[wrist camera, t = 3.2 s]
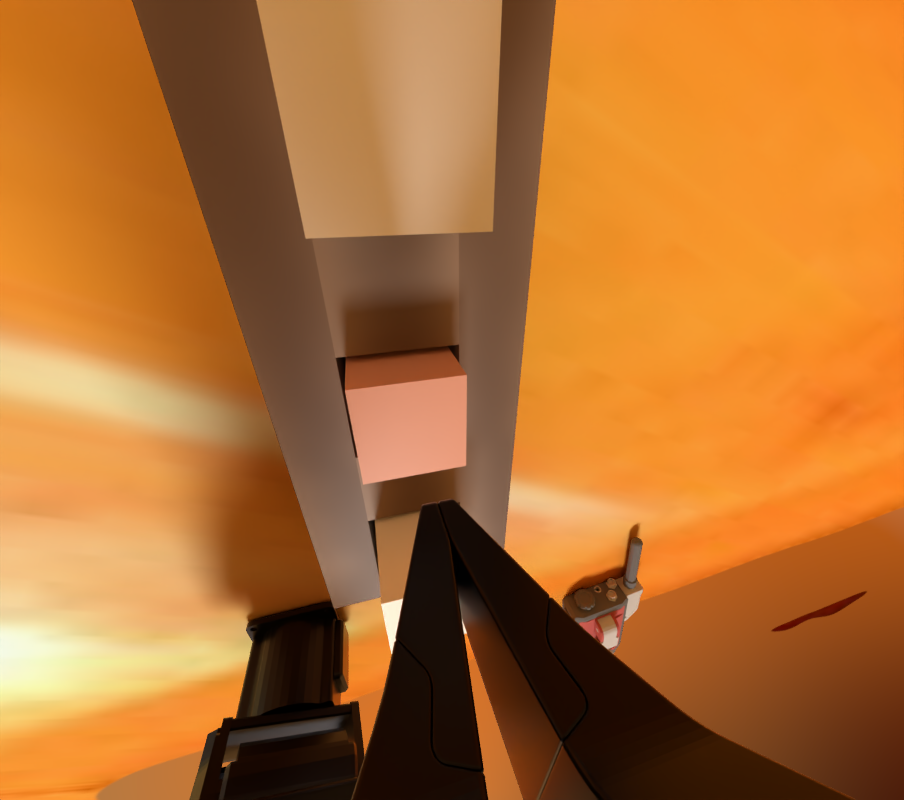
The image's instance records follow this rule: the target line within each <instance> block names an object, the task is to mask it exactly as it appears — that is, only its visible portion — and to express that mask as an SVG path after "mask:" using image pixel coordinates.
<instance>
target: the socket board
mask: <svg viewBox="0 0 904 800" xmlns="http://www.w3.org/2000/svg"><path fill="white" fill-rule="evenodd" d="M132 2H133V5H134V8H135V11H136V14H137V17H138V20H139V23H140V26H141V29H142V32H143V35H144V38H145V41H146V44H147V47H148V50H149V53H150V56H151V59H152V62H153V65H154V68H155V71H156V74H157V77H158V80H159V83H160V86H161V89H162V92H163V95H164V98H165V101H166V104H167V107H168V110H169V113H170V116H171V119H172V122H173V125H174V128H175V131H176V134H177V137H178V140H179V143H180V146H181V149H182V152H183V155H184V158H185V161H186V164H187V167H188V170H189V173H190V176H191V179H192V182H193V185H194V188H195V191H196V194H197V197H198V200H199V204H200V207H201V210H202V213H203V216H204V219H205V222H206V225H207V228H208V231H209V234H210V237H211V240H212V243H213V246H214V249H215V252H216V255H217V258H218V261H219V264H220V267H221V270H222V273H223V276H224V279H225V282H226V285H227V288H228V291H229V294H230V297H231V300H232V303H233V306H234V309H235V312H236V315H237V318H238V321H239V324H240V327H241V330H242V333H243V336H244V339H245V342H246V345H247V348H248V351H249V354H250V357H251V360H252V363H253V366H254V369H255V372H256V375H257V378H258V381H259V384H260V387H261V390H262V393H263V396H264V399H265V402H266V405H267V408H268V411H269V414H270V417H271V420H272V423H273V426H274V429H275V432H276V435H277V438H278V441H279V444H280V447H281V450H282V453H283V456H284V459H285V462H286V465H287V469H288V472H289V475H290V478H291V481H292V484H293V487H294V490H295V493H296V496H297V499H298V502H299V505H300V508H301V511H302V514H303V517H304V520H305V523H306V526H307V529H308V532H309V535H310V538H311V541H312V544H313V547H314V550H315V553H316V556H317V559H318V562H319V565H320V568H321V571H322V574H323V577H324V580H325V583H326V586H327V589H328V592H329V595H330V598H331V601H332V604H333V607H334V609H336V608H340V607H344V606H347V605H351V604H355V603H359V602H363V601H367V600H371V599H375V598H379V597H381V594H380V581H379V568H378V555H377V542H376V529H375V519H380V518H385V517H390V516H395V515H400V514H404V513H409V512H414V511H419V510H420V509H421V506H422V505H423V504H426V503H431V502H437V504H438V502H439V501H441V500H446V499H454V500H455V501H456V502H457V503H458V504H459V505H460V506H461V507H462V508H463V509H464V510H465V511H466V512H467V513H468V514H469V515H470V516H471V517H472V518H473V519H474V520H475V521H476V522H477V523H478V524H479V525H480V526H481V527H482V528H483V529H484V530H485V531H486V532H487V533H488V534H489V535H490V536H491V537H492V538H493V539H494V540H495V541H496V542H497V543H498V544H499V545H500V546H501V547H502V548H503V549H504V544H505V533H506V522H507V512H508V501H509V491H510V480H511V470H512V459H513V448H514V438H515V427H516V417H517V406H518V396H519V385H520V374H521V364H522V353H523V343H524V332H525V322H526V311H527V300H528V290H529V279H530V269H531V258H532V247H533V237H534V226H535V216H536V205H537V195H538V184H539V173H540V163H541V152H542V142H543V131H544V121H545V110H546V99H547V89H548V78H549V68H550V57H551V46H552V36H553V25H554V15H555V4H556V0H502V16H501V41H500V65H499V90H498V115H497V140H496V164H495V189H494V214H493V232H470V233H443V234H416V235H389V236H363V237H336V238H309V239H306V238H305V233H304V229H303V224H302V219H301V214H300V209H299V205H298V200H297V195H296V190H295V185H294V180H293V176H292V171H291V166H290V161H289V156H288V151H287V147H286V142H285V137H284V132H283V127H282V122H281V118H280V113H279V108H278V103H277V98H276V93H275V89H274V84H273V79H272V74H271V69H270V64H269V60H268V55H267V50H266V45H265V40H264V35H263V31H262V26H261V21H260V16H259V11H258V7H257V2H256V0H132ZM441 346H448V348H449V349H450V351H451V352H452V354H453V355H454V356H455V358H456V359H457V361H458V362H459V364H460V365H461V367H462V368H463V370H464V371H465V373H466V374H467V428H466V466H462V467H457V468H452V469H446V470H441V471H435V472H430V473H424V474H419V475H413V476H408V477H402V478H397V479H392V480H386V481H381V482H375V483H370V484H364V485H363V481H362V476H361V471H360V466H359V461H358V456H357V450H356V445H355V440H354V435H353V430H352V425H351V419H350V414H349V409H348V404H347V399H346V394H345V368H346V357H347V356H356V355H366V354H375V353H384V352H394V351H403V350H412V349H422V348H431V347H441Z"/></svg>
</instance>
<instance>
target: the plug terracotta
mask: <svg viewBox="0 0 904 800" xmlns="http://www.w3.org/2000/svg"><path fill="white" fill-rule="evenodd" d="M345 394H346V399H347V404H348V409H349V414H350V419H351V425H352V430H353V435H354V440H355V445H356V450H357V456H358V461H359V466H360V471H361V476H362V481H363V485H364V484H370V483H375V482H381V481H386V480H392V479H397V478H402V477H408V476H413V475H419V474H424V473H430V472H435V471H441V470H446V469H452V468H457V467H462V466H466V428H467V374H466V373H465V371H464V370H463V368H462V367H461V365H460V364H459V362H458V361H457V359H456V358H455V356H454V355H453V354H452V352H451V351H450V349H449V348H448V346H441V347H431V348H422V349H412V350H403V351H394V352H384V353H375V354H366V355H356V356H347V357H346V368H345Z"/></svg>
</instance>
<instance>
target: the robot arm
mask: <svg viewBox="0 0 904 800" xmlns="http://www.w3.org/2000/svg"><path fill="white" fill-rule="evenodd" d="M462 620H463V623H464V626H465V629H466V632H467V635H468V638H469V641H470V644H471V647H472V650H473V653H474V656H475V659H476V661H477V664H478V667H479V670H480V673H481V676H482V679H483V682H484V685H485V688H486V691H487V694H488V696H489V700H490V703H491V705H492V708H493V711H494V714H495V717H496V720H497V723H498V726H499V729H500V732H501V735H502V738H503V740H504V744H505V747H506V749H507V753H508V755H509V758H510V761H511V764H512V767H513V770H514V773H515V776H516V779H517V782H518V785H519V788H520V791H521V794H522V796H523V800H856V799H854V798H852V797H849V796H847V795H845V794H843V793H841V792H839V791H837V790H835V789H833V788H831V787H829V786H826V785H824V784H822V783H820V782H818V781H816V780H814V779H812V778H810V777H807V776H805V775H803V774H801V773H799V772H797V771H795V770H793V769H791V768H789V767H787V766H784V765H782V764H780V763H778V762H776V761H774V760H772V759H770V758H767V757H766V756H763V755H761V754H759V753H757V752H755V751H753V750H751V749H749V748H747V747H744V746H742V745H740V744H738V743H736V742H734V741H732V740H730V739H728V738H726V737H724V736H722V735H720V734H718V733H716V732H714V731H712V730H711V729H709V728H707V727H705V726H704V725H702V724H700V723H699V722H698V721H696V720H695V719H693V718H692V717H690V716H689V715H687V714H686V713H685V712H683V711H682V710H680V709H679V708H678V707H676V706H675V705H674V704H673V703H672V702H670V701H669V700H668V699H667V698H666V697H664V696H663V695H662V694H661V693H660V692H658V691H657V690H656V689H655V688H654V687H652V686H651V685H650V684H649V683H648V682H646V681H645V680H644V679H643V678H642V677H640V676H639V675H638V674H636V673H635V672H634V671H633V670H632V669H631V668H629V667H628V666H627V665H626V664H625V663H623V662H622V661H621V660H620V659H618V658H617V657H616V656H615V655H614V654H613V653H611V652H610V651H609V650H608V649H607V648H606V647H604V646H603V645H602V644H601V643H600V642H599V641H597V640H596V639H595V638H594V637H593V636H592V635H590V634H589V633H588V632H587V631H586V630H585V629H584V628H583V627H582V626H581V625H580V624H578V623H577V622H576V621H575V620H574V619H573V618H572V617H571V616H570V615H569V614H568V613H567V612H566V611H565V610H564V609H563V608H562V607H561V606H560V605H559V604H558V603H557V602H556V601H555V600H554V599H553V598H549V594H548V593H547V592H546V591H545V590H544V589H543V588H542V587H541V586H540V585H539V584H538V583H537V582H536V581H535V580H534V579H533V578H532V577H531V576H530V575H529V574H528V573H527V572H526V571H525V570H524V569H523V568H522V567H521V566H520V565H519V564H518V563H517V562H516V561H515V560H514V559H513V558H512V557H511V556H510V555H509V554H508V553H507V552H506V551H505V550H504V549H503V548H502V547H501V546H500V545H499V544H498V543H497V542H496V541H495V540H494V539H493V538H492V537H491V536H490V535H489V534H488V533H487V532H486V531H485V530H484V529H483V528H482V527H481V526H480V525H479V524H478V523H477V522H476V521H475V520H474V519H473V518H472V517H471V516H470V515H469V514H468V513H467V512H466V511H465V510H464V509H463V508H462V507H461V506H460V505H459V504H458V503H457V502H456V501H455V500H454V499H446V500H441V501H439V502H438V504H437V502H431V503H426V504H423V505H422V506H421V509H420V514H419V519H418V524H417V529H416V535H415V540H414V545H413V550H412V555H411V560H410V565H409V570H408V575H407V581H406V586H405V591H404V596H403V601H402V606H401V611H400V616H399V621H398V626H397V631H396V637H395V639H396V641H395V642H394V646H393V651H392V656H391V661H390V665H389V670H388V674H387V679H386V683H385V687H384V692H383V696H382V699H381V703H380V706H379V710H378V713H377V717H376V721H375V724H374V728H373V731H372V734H371V737H370V741H369V744H368V747H367V750H366V754H365V757H364V748H363V739H362V730H361V721H360V712H359V703H358V701H354V702H350V704H342V705H340V700H341V693H342V692H346V690H347V689H348V632H347V629H346V626H345V623H344V621H343V620H342V619H339V616H338V613H337V610H336V609H334V607H333V604H332V602H326V603H322V604H318V605H314V606H310V607H305V608H301V609H297V610H293V611H289V612H285V613H281V614H277V615H273V616H269V617H265V618H261V619H257V620H253V621H250V622H249V623H248V624H247V628H246V631H247V633H248V635H249V637H250V638H251V640H252V642H253V643H252V647H251V652H250V657H249V661H248V666H247V670H246V675H245V679H244V684H243V688H242V693H241V697H240V702H239V706H238V711H237V715H236V718H235V719H233V717H229V718H224V719H223V723H222V727H221V728H218V729H217V730H215V731H213V732H211V733H209V734H208V736H207V739H206V743H205V747H204V751H203V755H202V758H201V762H200V766H199V769H198V773H197V776H196V779H195V783H194V786H193V790H192V793H191V797H190V800H488V796H487V789H486V782H485V776H484V774H483V770H484V768H483V761H482V755H481V748H480V741H479V734H478V727H477V721H476V713H475V706H474V700H473V692H472V686H471V679H470V672H469V665H468V658H467V651H466V644H465V637H464V630H463V623H462ZM230 761H234V762H231V763H230V764H229V765H228V766H227V767H223V768H222V763H224V762H230Z"/></svg>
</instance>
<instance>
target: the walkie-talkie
mask: <svg viewBox="0 0 904 800" xmlns="http://www.w3.org/2000/svg"><path fill="white" fill-rule="evenodd" d="M642 545H643V543H642V540H641V539H639V538H633V539H631V544H630V550H629V556H628V562H627V568H626V573H625V574H624V576H623V577H621V578H618V579H615V580H614V579H613V578H609V579H608V580H607V581H606V582H603V583H600V584H598V585H595V586H592V587H590V588H587V589H579V590H578V591H576V592H575V593H574V594H571V595H569V596H566V597H565V598H564V599H563V609H564V610H565V611H566V612H567V613H568V614H569V615H570V616H571V617H572V618H573V619H574V620H575V621H576V622H577V623H578V624H580V625H581V626H582V627H583V628H584V629H585V630H586V631H587V632H588V633H589V634H590V635H592V636H593V637H594V638H595V639H596V640H597V641H599V642H600V643H601V644H602V645H603V646H604V647H606V648H607V649H608V650H609V651H610V652H611V653H614V652H615V650H616V648H617V647H618V645H619V644H620V640H621V635H622V631H623V630H622V629H623V624H624V621H625V620H627V619H628V618H629V617H630V616H631V615H632V614H633V613H634V612H635V611H636V610H637V609H638V605H639V600H640V596H641V594H642V592H643V587H642V586H641V584H640V583H639V582H638V580H637V577H636V575H637V570H638V565H639V560H640V555H641V550H642Z"/></svg>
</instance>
